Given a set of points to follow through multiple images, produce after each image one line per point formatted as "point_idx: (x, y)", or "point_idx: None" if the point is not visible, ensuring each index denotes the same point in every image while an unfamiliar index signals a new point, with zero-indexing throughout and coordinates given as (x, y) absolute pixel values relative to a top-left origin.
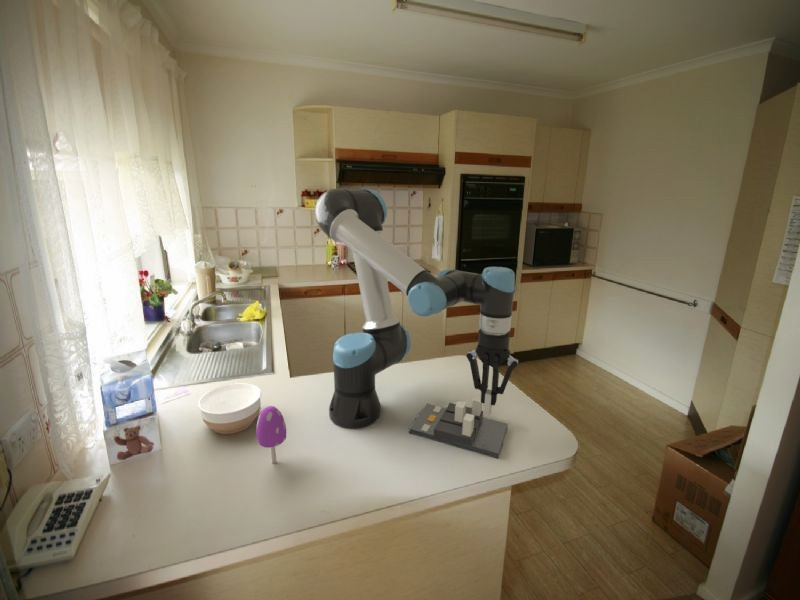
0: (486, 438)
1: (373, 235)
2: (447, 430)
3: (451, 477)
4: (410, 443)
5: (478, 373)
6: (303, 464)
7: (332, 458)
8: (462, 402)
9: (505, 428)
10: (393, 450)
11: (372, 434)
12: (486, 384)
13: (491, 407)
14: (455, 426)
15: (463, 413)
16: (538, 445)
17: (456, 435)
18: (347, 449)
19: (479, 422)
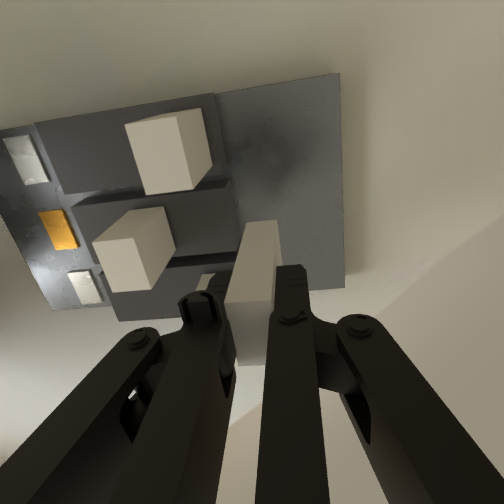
0: (283, 235)
1: None
2: (158, 308)
3: (252, 381)
4: (99, 331)
5: (84, 467)
6: (5, 451)
7: (23, 427)
8: (117, 246)
9: (337, 125)
10: (89, 367)
11: (2, 344)
12: (226, 429)
13: (276, 241)
14: (167, 277)
15: (160, 259)
16: (485, 126)
17: None
18: (16, 401)
19: (224, 169)
